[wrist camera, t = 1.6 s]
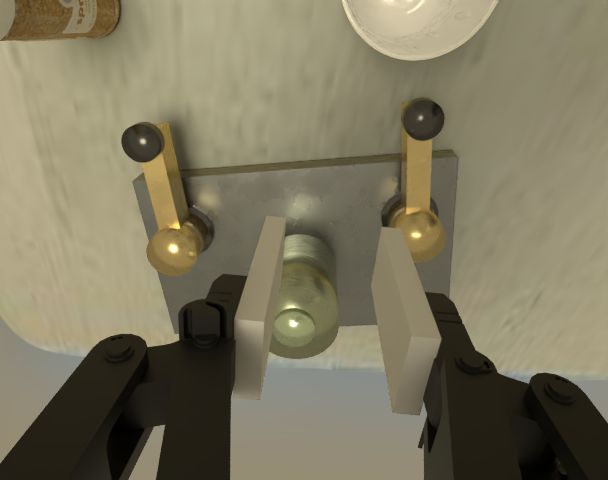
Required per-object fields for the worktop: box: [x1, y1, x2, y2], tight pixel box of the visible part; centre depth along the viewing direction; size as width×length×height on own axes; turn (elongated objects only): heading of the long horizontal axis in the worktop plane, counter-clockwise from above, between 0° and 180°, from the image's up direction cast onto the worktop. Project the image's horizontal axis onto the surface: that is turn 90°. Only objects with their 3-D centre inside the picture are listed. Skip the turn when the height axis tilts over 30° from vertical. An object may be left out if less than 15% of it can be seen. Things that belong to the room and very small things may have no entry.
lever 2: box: [387, 98, 446, 263], centre depth 30 cm, size 4×11×4 cm, turn 5°
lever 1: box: [122, 122, 208, 276], centre depth 32 cm, size 4×11×4 cm, turn 5°
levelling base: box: [132, 150, 458, 359], centre depth 33 cm, size 25×15×11 cm, turn 95°
